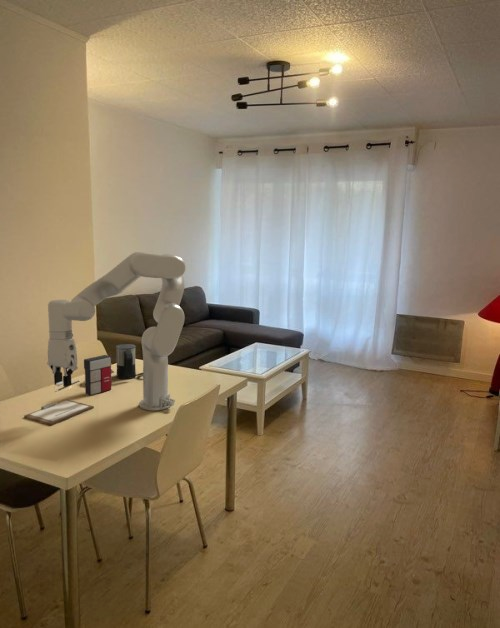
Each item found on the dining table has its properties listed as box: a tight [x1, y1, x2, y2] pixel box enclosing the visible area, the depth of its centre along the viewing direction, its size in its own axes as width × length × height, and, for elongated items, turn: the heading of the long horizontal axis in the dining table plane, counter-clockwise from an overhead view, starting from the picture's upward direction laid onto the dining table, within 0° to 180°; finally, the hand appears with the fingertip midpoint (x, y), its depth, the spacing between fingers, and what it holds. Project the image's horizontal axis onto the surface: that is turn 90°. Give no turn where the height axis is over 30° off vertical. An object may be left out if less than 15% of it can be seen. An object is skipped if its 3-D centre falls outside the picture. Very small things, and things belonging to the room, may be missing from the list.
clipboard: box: [23, 399, 95, 426], centre depth 179 cm, size 14×20×2 cm
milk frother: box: [115, 343, 143, 380], centre depth 226 cm, size 14×16×15 cm
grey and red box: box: [83, 354, 112, 396], centre depth 202 cm, size 11×4×15 cm, turn 143°
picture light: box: [54, 379, 82, 393], centre depth 172 cm, size 14×4×2 cm, turn 161°
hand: (63, 384), depth 172 cm, fingers closed on picture light, 3 cm apart
